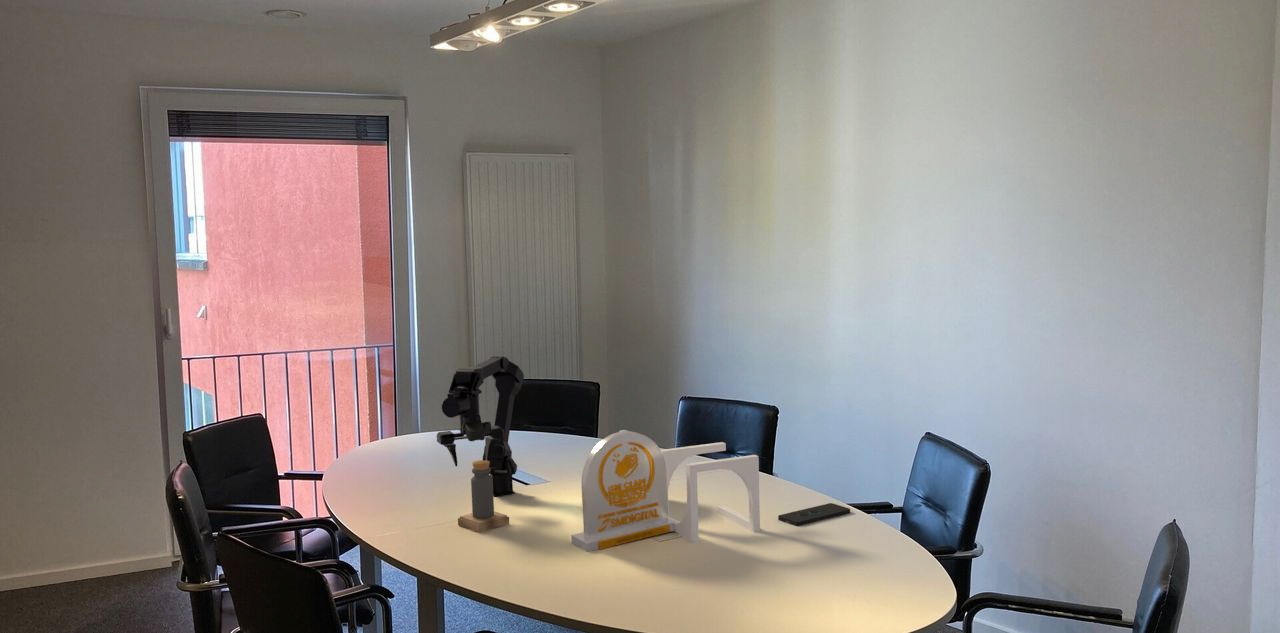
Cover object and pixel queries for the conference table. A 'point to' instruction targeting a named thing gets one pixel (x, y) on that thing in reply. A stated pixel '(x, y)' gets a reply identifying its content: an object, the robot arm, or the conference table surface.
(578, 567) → the conference table surface
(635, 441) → the award
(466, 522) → the plinth
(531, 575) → the conference table surface
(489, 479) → the bottle
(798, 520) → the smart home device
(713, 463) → the white arched frame
